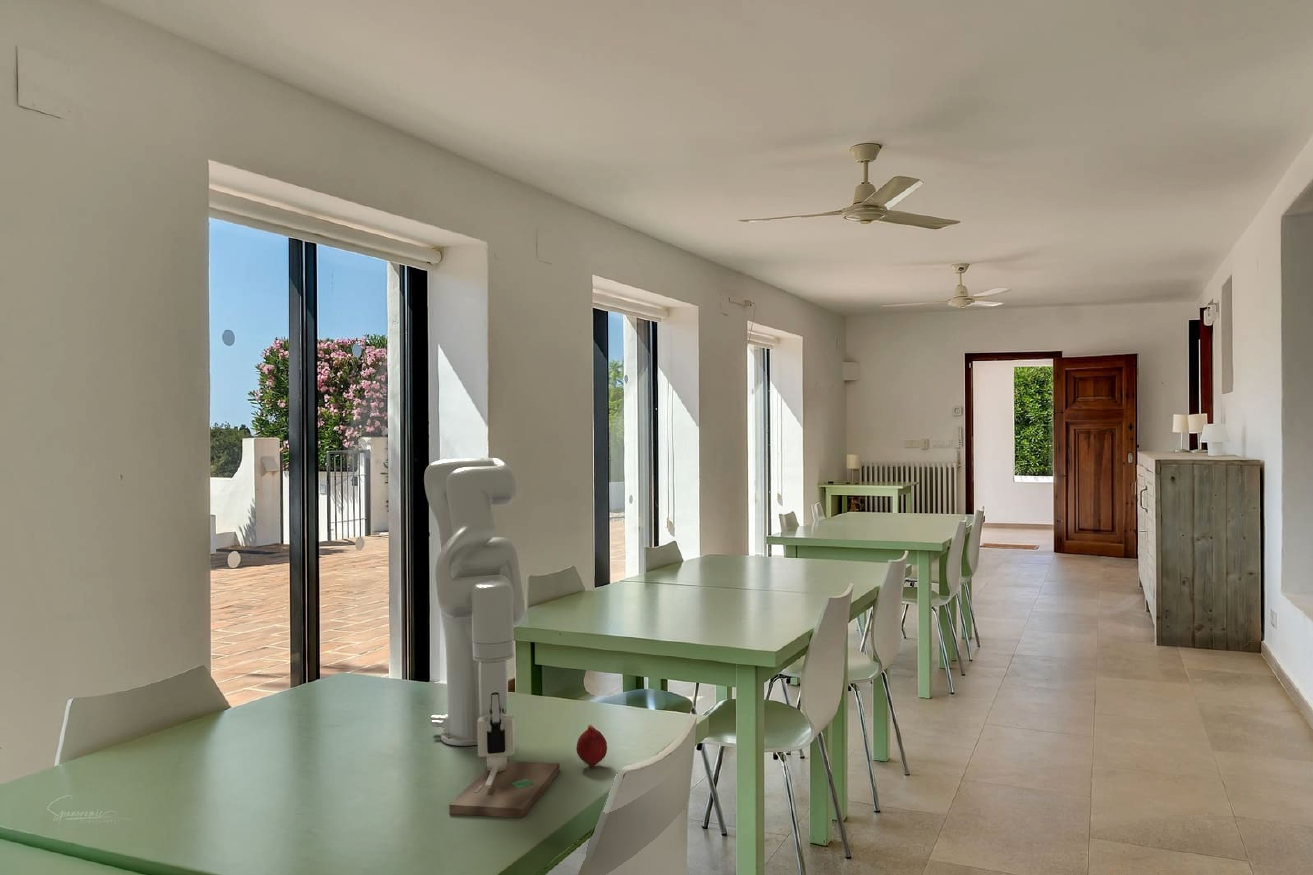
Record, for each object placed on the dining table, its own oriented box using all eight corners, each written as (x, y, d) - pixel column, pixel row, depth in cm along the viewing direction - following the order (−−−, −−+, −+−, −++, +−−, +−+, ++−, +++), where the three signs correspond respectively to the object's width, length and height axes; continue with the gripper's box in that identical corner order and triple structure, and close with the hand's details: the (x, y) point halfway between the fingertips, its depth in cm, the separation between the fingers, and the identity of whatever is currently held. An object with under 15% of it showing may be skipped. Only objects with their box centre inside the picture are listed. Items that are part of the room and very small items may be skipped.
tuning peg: (481, 765, 170) (480, 716, 170) (515, 764, 170) (514, 715, 170) (469, 791, 158) (468, 738, 158) (506, 789, 158) (505, 736, 158)
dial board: (449, 813, 153) (449, 804, 153) (494, 768, 173) (494, 759, 173) (523, 817, 150) (523, 808, 150) (559, 771, 171) (559, 762, 171)
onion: (612, 762, 175) (611, 721, 175) (600, 773, 169) (599, 730, 169) (584, 760, 177) (583, 718, 177) (572, 770, 171) (570, 728, 171)
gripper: (472, 641, 175) (475, 736, 175) (472, 661, 159) (475, 766, 159) (512, 638, 177) (514, 732, 177) (516, 658, 161) (518, 762, 161)
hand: (496, 747), depth 168 cm, fingers closed on tuning peg, 3 cm apart
